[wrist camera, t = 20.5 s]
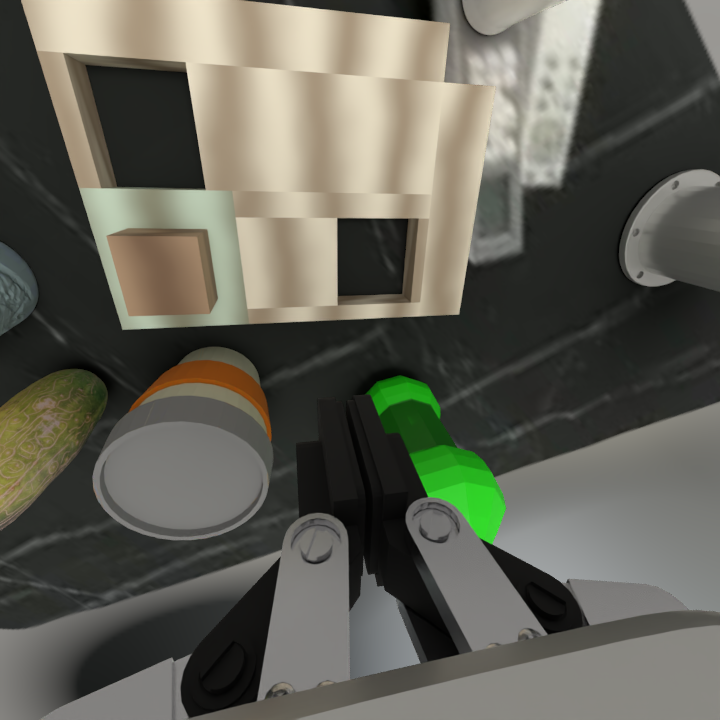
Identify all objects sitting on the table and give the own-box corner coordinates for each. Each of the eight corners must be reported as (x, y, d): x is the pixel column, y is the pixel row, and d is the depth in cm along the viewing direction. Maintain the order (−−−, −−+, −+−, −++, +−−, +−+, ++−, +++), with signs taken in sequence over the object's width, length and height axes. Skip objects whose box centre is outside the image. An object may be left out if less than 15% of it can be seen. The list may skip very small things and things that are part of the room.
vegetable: (45, 350, 34) (-197, 532, 17) (116, 346, 36) (-44, 513, 18) (68, 402, 37) (-120, 603, 20) (133, 397, 38) (9, 583, 21)
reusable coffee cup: (233, 444, 44) (212, 559, 31) (132, 393, 38) (53, 507, 25) (298, 373, 41) (305, 467, 28) (198, 306, 35) (148, 385, 22)
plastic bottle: (435, 361, 44) (586, 548, 22) (419, 430, 48) (531, 640, 27) (355, 360, 41) (435, 567, 20) (346, 432, 46) (403, 663, 24)
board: (485, 42, 30) (505, 29, 27) (447, 305, 40) (458, 314, 38) (42, -3, 24) (13, -25, 21) (134, 317, 35) (122, 329, 32)
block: (207, 229, 30) (196, 236, 26) (217, 298, 32) (210, 313, 29) (127, 228, 28) (106, 235, 25) (146, 300, 31) (128, 316, 28)
